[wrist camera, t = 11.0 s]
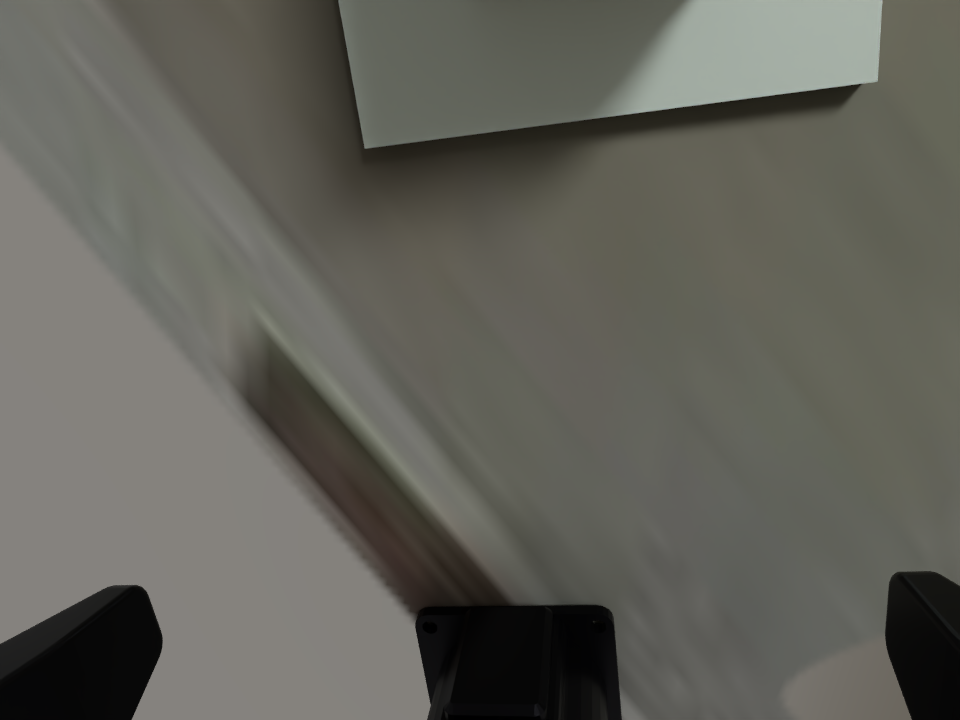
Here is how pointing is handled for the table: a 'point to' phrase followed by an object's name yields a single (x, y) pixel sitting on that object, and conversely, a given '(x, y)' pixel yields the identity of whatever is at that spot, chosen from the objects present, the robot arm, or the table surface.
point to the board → (589, 58)
